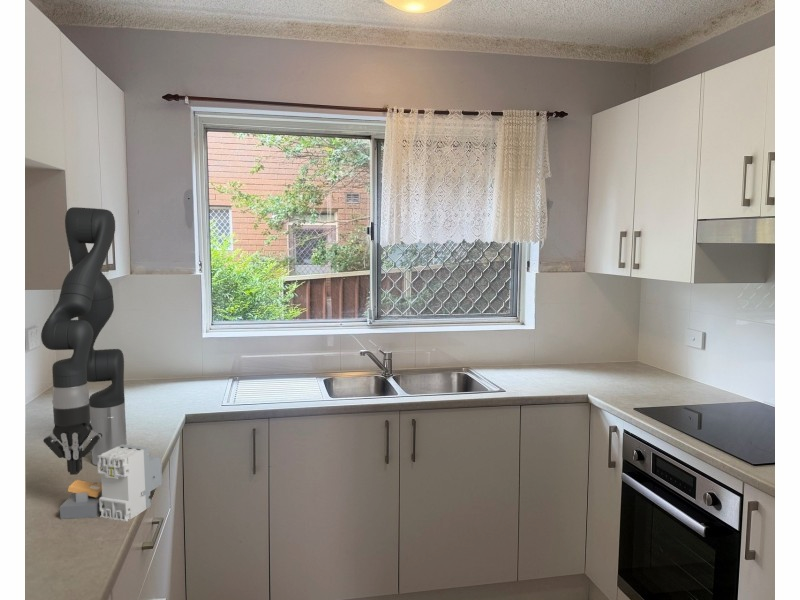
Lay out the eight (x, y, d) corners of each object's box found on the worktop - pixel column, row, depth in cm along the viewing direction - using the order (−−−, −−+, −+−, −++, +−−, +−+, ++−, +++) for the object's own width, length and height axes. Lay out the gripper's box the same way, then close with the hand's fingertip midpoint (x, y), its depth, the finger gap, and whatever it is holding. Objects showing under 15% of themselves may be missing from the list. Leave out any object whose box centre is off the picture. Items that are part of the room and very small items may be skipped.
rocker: (74, 486, 140) (76, 479, 140) (103, 492, 141) (104, 485, 141) (67, 493, 136) (69, 486, 136) (96, 499, 137) (98, 492, 137)
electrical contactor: (167, 495, 146) (165, 438, 145) (126, 521, 133) (123, 459, 131) (142, 491, 148) (140, 435, 147) (100, 517, 135) (97, 456, 133)
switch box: (79, 499, 143) (78, 480, 143) (112, 498, 144) (111, 479, 144) (60, 519, 134) (59, 498, 133) (96, 517, 135) (95, 496, 134)
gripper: (106, 398, 140) (109, 466, 142) (49, 399, 139) (53, 468, 140) (94, 406, 133) (98, 478, 135) (33, 408, 131) (38, 481, 133)
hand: (75, 473), depth 138 cm, fingers closed
